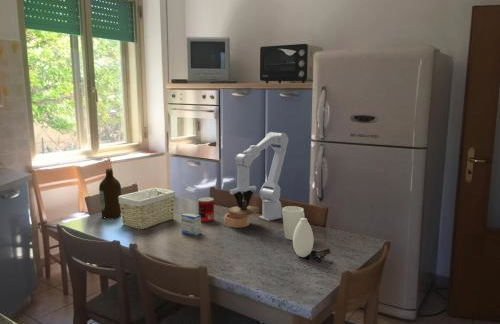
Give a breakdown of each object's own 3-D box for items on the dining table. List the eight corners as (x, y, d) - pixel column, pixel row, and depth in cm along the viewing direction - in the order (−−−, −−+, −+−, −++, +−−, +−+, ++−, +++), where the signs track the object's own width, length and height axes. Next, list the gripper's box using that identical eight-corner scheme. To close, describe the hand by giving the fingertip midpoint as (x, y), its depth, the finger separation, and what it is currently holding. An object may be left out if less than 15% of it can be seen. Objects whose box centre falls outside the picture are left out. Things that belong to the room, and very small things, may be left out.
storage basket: (140, 231, 196) (138, 200, 193) (117, 225, 205) (116, 195, 203) (177, 219, 215) (176, 190, 213) (155, 214, 224) (154, 186, 222)
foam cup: (301, 241, 182) (302, 212, 180) (280, 240, 184) (280, 211, 182) (303, 234, 192) (304, 206, 190) (283, 233, 193) (283, 205, 191)
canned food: (215, 218, 217) (215, 197, 215) (212, 222, 209) (212, 201, 207) (200, 217, 217) (200, 196, 216) (197, 222, 210) (196, 200, 208)
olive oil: (119, 212, 226) (117, 166, 222) (124, 217, 217) (121, 169, 213) (99, 215, 221) (96, 168, 217) (102, 220, 212) (99, 171, 208)
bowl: (239, 218, 216) (239, 211, 215) (254, 224, 206) (254, 216, 206) (220, 222, 209) (220, 215, 208) (234, 229, 199) (234, 220, 199)
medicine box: (181, 233, 193) (180, 214, 192) (187, 230, 197) (186, 212, 196) (195, 235, 190) (195, 217, 188) (201, 233, 193) (200, 214, 192)
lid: (250, 206, 213) (250, 196, 212) (265, 212, 200) (264, 201, 199) (223, 210, 206) (222, 200, 205) (236, 216, 193) (236, 205, 192)
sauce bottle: (299, 251, 171) (300, 208, 168) (316, 255, 166) (317, 211, 163) (288, 256, 165) (289, 212, 162) (306, 261, 160) (307, 215, 158)
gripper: (250, 175, 208) (250, 202, 210) (225, 179, 199) (226, 207, 202) (259, 178, 203) (259, 205, 205) (234, 181, 194) (234, 210, 196)
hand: (243, 206), depth 203 cm, fingers closed on lid, 3 cm apart
